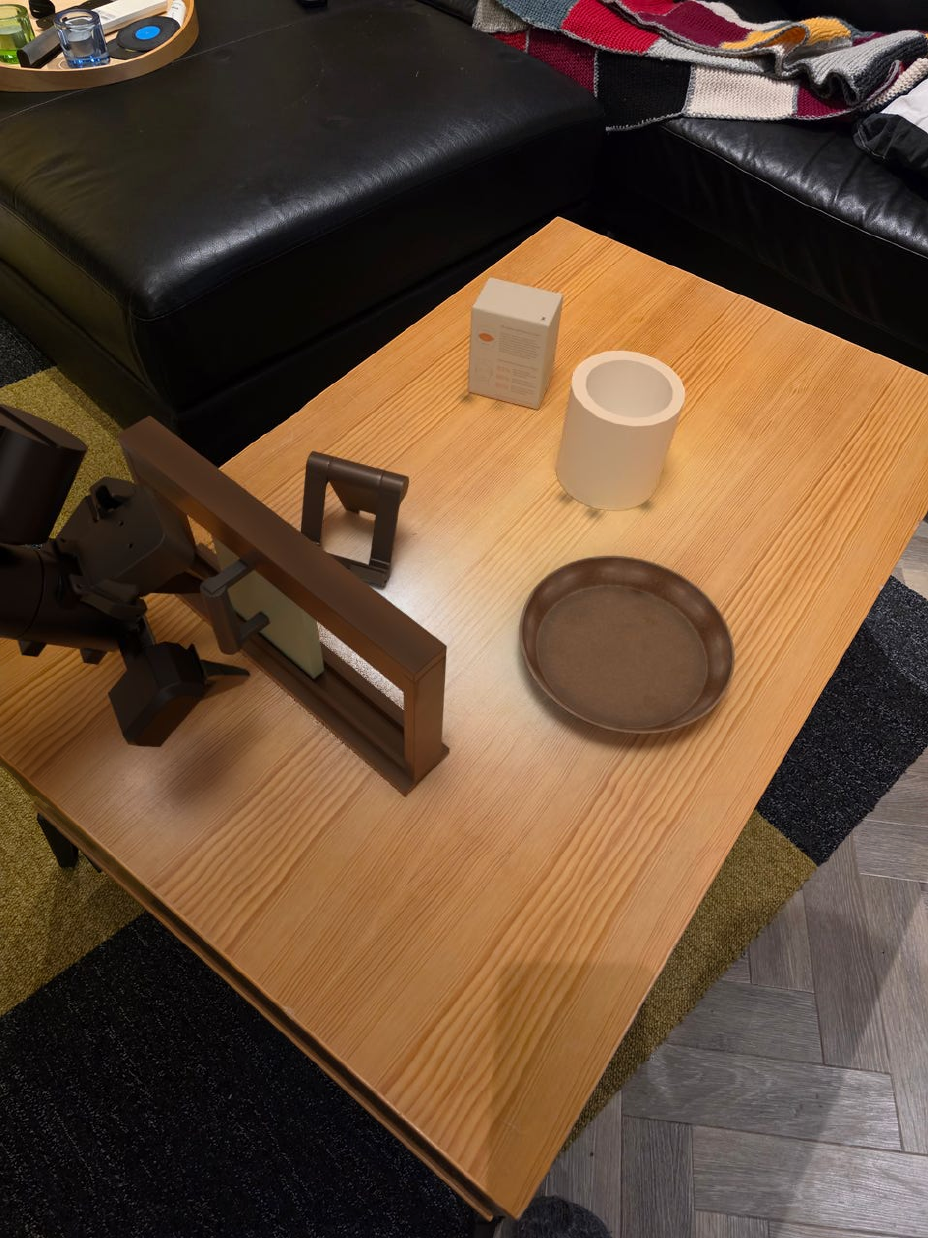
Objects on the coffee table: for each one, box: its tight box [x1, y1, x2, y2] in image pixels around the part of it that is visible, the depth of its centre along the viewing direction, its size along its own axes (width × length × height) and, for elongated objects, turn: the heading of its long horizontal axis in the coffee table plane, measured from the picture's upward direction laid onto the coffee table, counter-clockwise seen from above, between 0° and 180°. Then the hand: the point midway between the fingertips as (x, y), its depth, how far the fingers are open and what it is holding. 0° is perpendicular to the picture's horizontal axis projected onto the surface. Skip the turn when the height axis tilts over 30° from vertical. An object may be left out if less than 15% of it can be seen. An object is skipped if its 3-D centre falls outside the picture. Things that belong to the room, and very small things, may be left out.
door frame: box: [116, 415, 451, 797], centre depth 66 cm, size 5×30×16 cm, turn 48°
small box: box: [467, 276, 564, 410], centre depth 89 cm, size 8×6×10 cm
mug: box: [555, 350, 686, 512], centre depth 83 cm, size 14×10×11 cm
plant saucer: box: [518, 555, 736, 735], centre depth 73 cm, size 18×18×3 cm
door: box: [200, 534, 324, 679], centre depth 66 cm, size 6×10×12 cm, turn 48°
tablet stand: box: [300, 450, 410, 587], centre depth 77 cm, size 9×8×8 cm
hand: (225, 630), depth 66 cm, fingers open, 9 cm apart
